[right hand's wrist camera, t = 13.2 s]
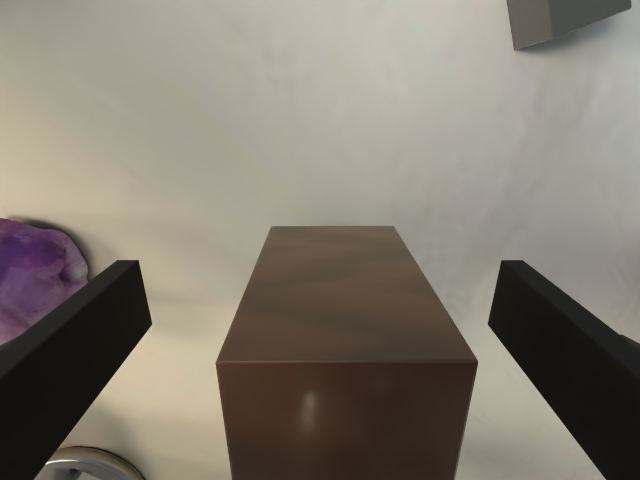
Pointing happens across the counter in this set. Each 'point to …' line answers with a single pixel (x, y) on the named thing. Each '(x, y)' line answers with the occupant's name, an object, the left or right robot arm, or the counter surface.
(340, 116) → the counter surface
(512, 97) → the counter surface
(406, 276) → the walnut bar
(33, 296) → the figurine
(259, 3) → the counter surface
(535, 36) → the slate cube
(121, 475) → the left robot arm
